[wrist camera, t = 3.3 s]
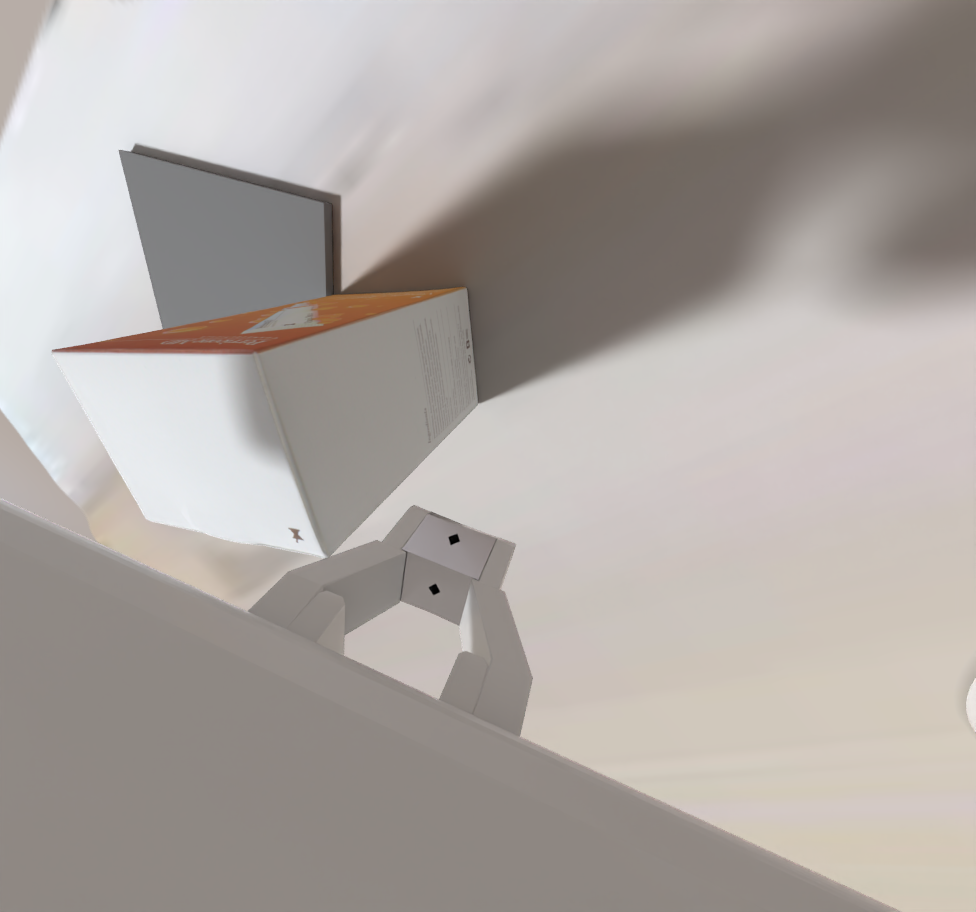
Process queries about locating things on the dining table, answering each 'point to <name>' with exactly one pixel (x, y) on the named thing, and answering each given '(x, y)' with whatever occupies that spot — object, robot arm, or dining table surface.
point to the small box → (280, 412)
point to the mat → (225, 242)
